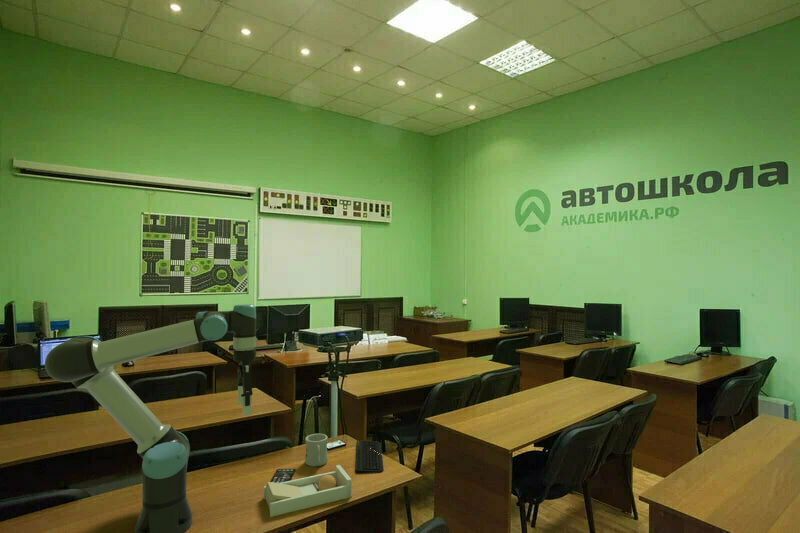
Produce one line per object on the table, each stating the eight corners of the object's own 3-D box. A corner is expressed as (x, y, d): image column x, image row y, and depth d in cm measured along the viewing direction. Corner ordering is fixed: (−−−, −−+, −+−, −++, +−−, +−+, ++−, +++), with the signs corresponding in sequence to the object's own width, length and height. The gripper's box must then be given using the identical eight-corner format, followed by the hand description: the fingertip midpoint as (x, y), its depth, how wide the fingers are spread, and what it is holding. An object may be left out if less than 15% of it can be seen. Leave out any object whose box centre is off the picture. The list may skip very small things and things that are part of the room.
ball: (321, 499, 146) (321, 481, 146) (316, 491, 152) (316, 474, 152) (338, 494, 149) (338, 477, 149) (333, 487, 154) (332, 470, 154)
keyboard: (384, 474, 166) (384, 468, 166) (355, 475, 165) (355, 469, 165) (380, 443, 195) (380, 439, 195) (356, 444, 194) (356, 439, 195)
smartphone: (296, 468, 169) (287, 487, 154) (296, 470, 169) (287, 489, 154) (277, 468, 168) (266, 487, 154) (277, 470, 168) (266, 489, 153)
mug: (304, 459, 178) (304, 434, 178) (326, 456, 180) (326, 432, 181) (306, 472, 166) (306, 446, 166) (330, 469, 169) (330, 443, 169)
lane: (270, 516, 136) (270, 497, 136) (263, 498, 147) (263, 480, 147) (351, 496, 148) (351, 479, 148) (339, 481, 159) (339, 464, 159)
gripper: (261, 353, 142) (261, 418, 142) (250, 342, 165) (250, 398, 164) (237, 355, 139) (236, 421, 139) (229, 344, 161) (229, 401, 161)
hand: (244, 409), depth 152 cm, fingers open, 13 cm apart
